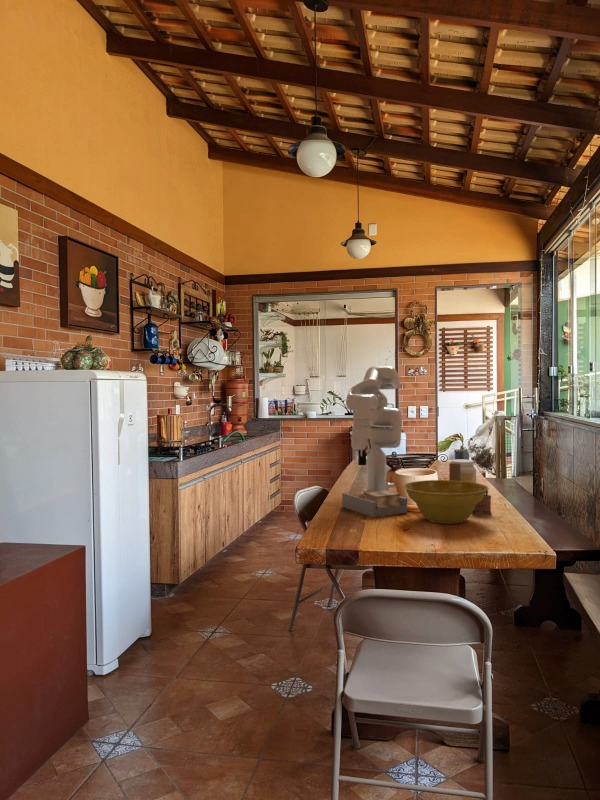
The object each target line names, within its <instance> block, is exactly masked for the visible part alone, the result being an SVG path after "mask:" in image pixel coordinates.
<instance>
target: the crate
mask: <svg viewBox="0 0 600 800" xmlns="http://www.w3.org/2000/svg"><path fill="white" fill-rule="evenodd" d="M363 495H364V499H367V500H370V501H373V502H376V509H379V508H386V507H394V506H399V496H400V497H401V493H399V492H395V491H391V490H390V491H387V490H384V491H375V492H366V493H365V492H364V494H363Z"/></svg>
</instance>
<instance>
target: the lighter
mask: <svg viewBox="0 0 600 800" xmlns="http://www.w3.org/2000/svg"><path fill="white" fill-rule="evenodd" d="M491 498H492V495H491V494H489V489H488V490H487V491H486V492H485V495H484V497H483V499H482V500H481V501H480V502H478V503H477V504H476V505H475V508H474V510H473V511H472V513H471V514H479V515H492V510H491V509H492V506H491V505H492V502H491V501H492V499H491Z"/></svg>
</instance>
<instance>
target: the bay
mask: <svg viewBox="0 0 600 800" xmlns="http://www.w3.org/2000/svg"><path fill="white" fill-rule="evenodd" d="M375 491H377V490H372V492H375ZM341 501H342V502H341V504H342V505H341V507H342V508H344V507H345V509H347V510H350V509H351V511H353V512H356V511H357V512H356V513H359V512H360V513H359V514H362V513H363V515H365V514H366V515H365V516H368V515H369V516H368V517H371V516H373V517H372V518H376V517H375V516H380V517H384V516H383V515H387V516H390V515H389V514H394V515H399V513H401V514H407V513H408V498H407V497H405V496H404V497H403V496H401V495H400V496H399V506H394V507H386V508H379V509H376V502H373V501H370V500H367V499H365V498H363V497H361V496H356V495H352V494H348V493H345V492H343V493H341Z"/></svg>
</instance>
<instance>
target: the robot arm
mask: <svg viewBox="0 0 600 800" xmlns="http://www.w3.org/2000/svg"><path fill="white" fill-rule="evenodd" d="M362 380H363V381H361V382H359V383H357V384H355V385H353V386H352V387H350V388H349V391H348V393H347V396H346V399H345V406H346V408H347V410H349V411H352V416H353V417H352V420H353V421H352V423H353V425H352V428H351V430H352V431H351V439H350V440H351V441H350V443H351V445H350V446H351V448H352V449H354V451H355V452H356V454H357V456H358V457H357V461H358V462H357V465H358V466H366V486H367V487H366V488H364V489H363V492H364V493H366V492H372V490H377V491H384V490H387V491H391V490H390V489H389V488H395V483H394V482H391V483H390V482H387V455H386V453H385V452H384V450H383V449H397V448H399V447H400V446H401V441H402V425H403V424H402V423H403V422H402V421H403V419H402V417H403V416H402V412H401V410H400V409H399V408H396V407H395V408H394V407H388V398H387V396H386V395H385V393H384V392H382V390H397V389H398V388H399V387H400V385H401V378H400V374H399V373H398V372H397V369H395V368H394V367H393V366H389V365H386V366H383V365H382V366H371V367H369V368H368V369H367V370H366V371H365V375H364V378H363V379H362ZM371 426H372V427H373V428H372V427H371Z"/></svg>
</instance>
